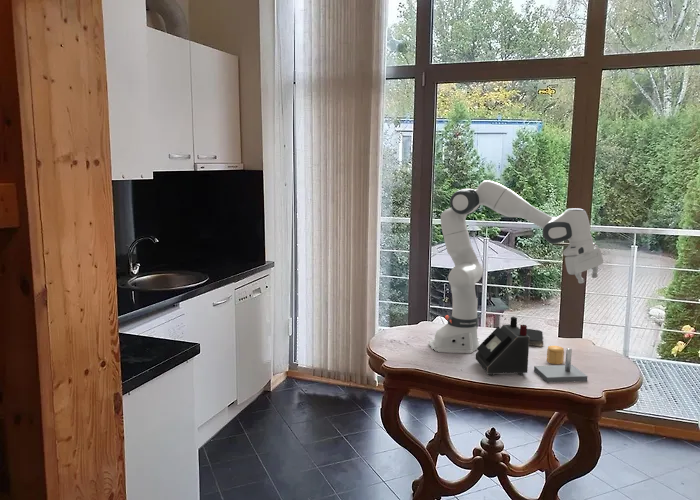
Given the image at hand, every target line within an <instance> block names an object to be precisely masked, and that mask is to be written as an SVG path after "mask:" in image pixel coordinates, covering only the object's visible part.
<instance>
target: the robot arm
mask: <svg viewBox="0 0 700 500" xmlns="http://www.w3.org/2000/svg"><path fill="white" fill-rule="evenodd" d="M449 206H450V207H449V208H446V209H444V210H443V211H442V212H441V214H440V226H441V232H442V236H443V239H444V244H445V248H446V252H447V253H448V255H449V256H450V258H451V260H452V262H453V264H454V266H453V268H451V270H450V272H449V273H448V276H447V280H448V284H449V285H450V291H451V295H452V297H451V298H452V299H451V300H452V306H451V307H452V312H451V313H452V314H451V315H450V316H449V314H446V315H445V316H444V319H445V320H446V321H447V324H445V325H444V326H442V327H441V328H439V329H438V330H436V331H435V334H434V339H433V340H432V339H431V340H430V341H429V344H430V345H429V344H428V345H429V347H430V346H431V347H430V348H431V350H433V349H434V350H435V352H437V351H438V352H437V353H452V354H453V353H454V354H473V352H474V351H478V350H477V348H478V347H479V346H480V344H479V338H478V327H479V317H478V303H479V302H478V301H479V300H478V298H477V295H476V284H477V283H478V282H479V281H480V280H481V279H482V277H483V273H484V268H483V265H482V264H481V263H480V262H479V259H478V257H477V255H476V253H475V250H474V248H473V245H472V242H471V239H470V234H469V230H468V226H467V222H466V219H467V216H469V215H471V214H472V213H474V212H475V211H477V210H479V208H480V207H481V206H485V207H486V208H488V209H491V210H492V211H494V212H496V213H498V214H500V215H501V216H505V217H507V218H520V219H524V220H526V221H528V222H530V223H532V224H534V225H536V226H537V227H539V228H541V229H542V236H543V238H544V239H545V241H546V242H547V243H549V244H555V245H556V244H560V243H563V242H565V241H568V242H569V243H568V246H567V247H566V248H565V249H564V250H563V252H562V253H563V256H564V257H565V258H564V261H565V262H564V264H565V268H566V272H567V274H568V275H573V276H575V278H576V279H577V282H578V284H584V283H585V278H583V277H582V273H584V272H585V271H588V270H590V269H591V270H592V273H591V278H592V279H597V278H598V276H599V275H598V272H599V266H601V265H603V264H604V257H603V255H602V251H601V249H600V248H599V245H598V244H597V243H595V242H594V238H593V236H592V234H591V224H590V220H589V216H588V213H587V211H586V210H585V209H582V208H578V207H577V208H576V207H575V208H573V207H572V208H566V209H565V210H564V212H562V213H561V214H560V215H558V216H553V215H551V214H548V213H547V212H545V211H542V210H541V209H539V208H537V207H536V206H534V205H531V204H530V203H529V202H528V201H527V200H525V199H524V198H522V197H521V196H520V195H519V194H517V193H516V192H515V191H513V190H512V189H510V188H508V187H506V186H505V185H502V184H501V183H499V182H495V181H493V180H490V179H485V180H483V181H482V182H480V183H479V185H478V186H477V187H476V188H472V187H471V188H468V187H466V188H461V189H459V190H456V191H455V192H454V193H452V195H451V197H450V199H449ZM434 350H433V351H434Z"/></svg>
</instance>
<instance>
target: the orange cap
mask: <svg viewBox="0 0 700 500" xmlns="http://www.w3.org/2000/svg"><path fill="white" fill-rule="evenodd" d="M564 360H565V350H564V347H563V346H559V345H549V346H548V347H547V350H546V362H547V363H549V364H550V365H551V364H552V365H563V364H564Z"/></svg>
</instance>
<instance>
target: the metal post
mask: <svg viewBox="0 0 700 500" xmlns="http://www.w3.org/2000/svg"><path fill="white" fill-rule="evenodd" d="M572 352H573V349H572V348H570V347H566V349H565V362H564V365H565V371H567V372H570V368H571V365H572Z"/></svg>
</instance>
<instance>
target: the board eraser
mask: <svg viewBox="0 0 700 500" xmlns="http://www.w3.org/2000/svg"><path fill="white" fill-rule="evenodd" d="M527 335H528V336H529V346H536V347H541V348H542V347H543V345H544V340H543V339H544V334H543V331H542V330H539V329H533V328H532V329H531V328H527Z"/></svg>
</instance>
